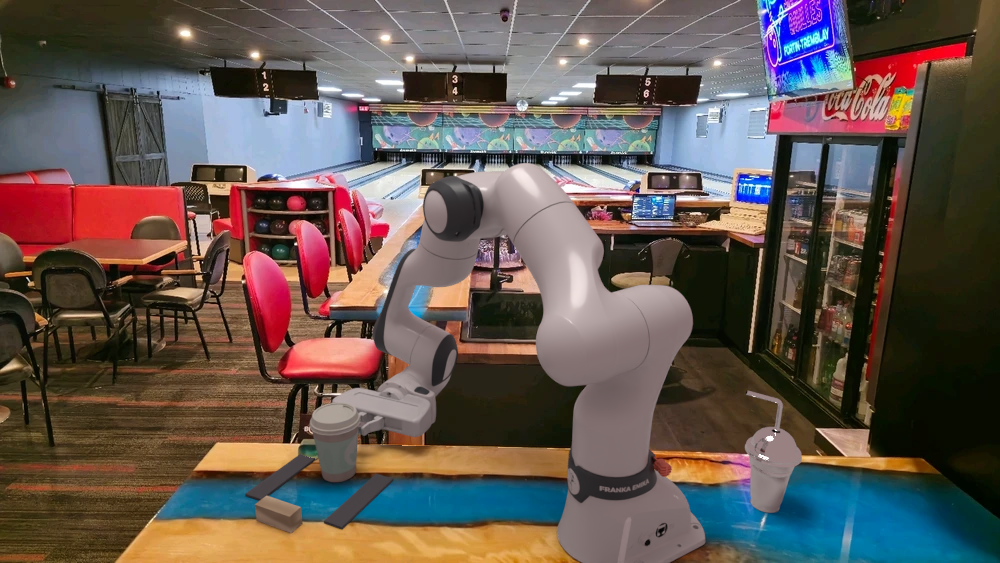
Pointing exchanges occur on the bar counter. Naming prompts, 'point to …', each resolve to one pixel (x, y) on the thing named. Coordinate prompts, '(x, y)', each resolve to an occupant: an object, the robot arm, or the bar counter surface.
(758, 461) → the cup with straw
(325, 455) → the coffee cup
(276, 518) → the maple block
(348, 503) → the gutter strips
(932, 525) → the bar counter surface
